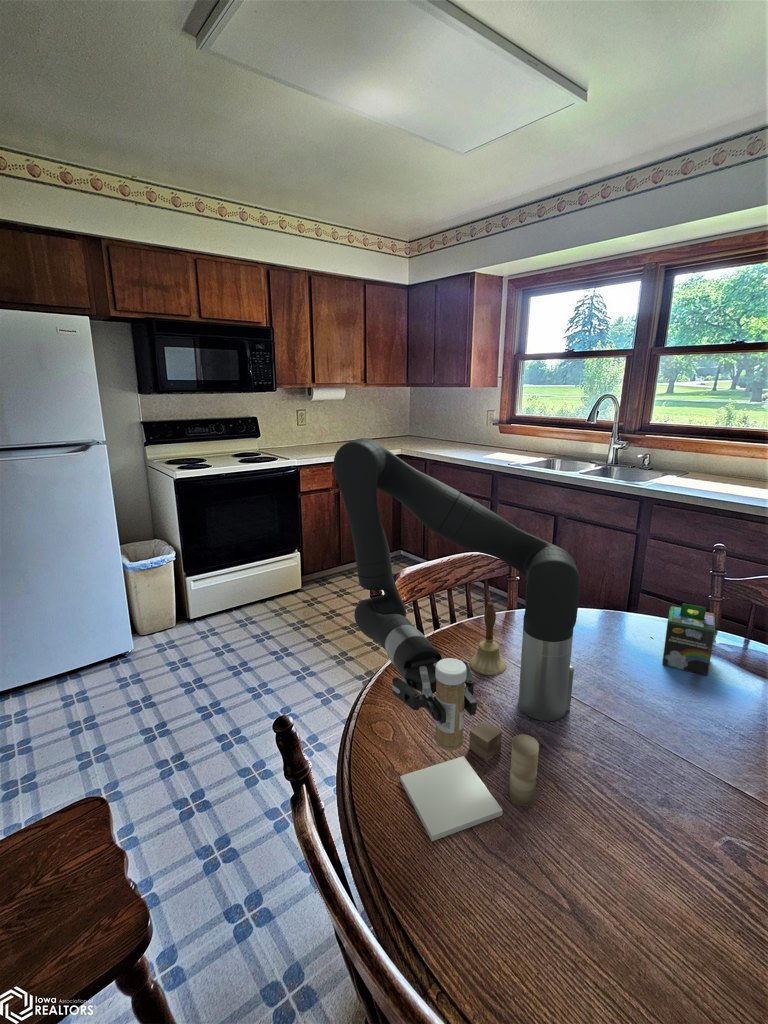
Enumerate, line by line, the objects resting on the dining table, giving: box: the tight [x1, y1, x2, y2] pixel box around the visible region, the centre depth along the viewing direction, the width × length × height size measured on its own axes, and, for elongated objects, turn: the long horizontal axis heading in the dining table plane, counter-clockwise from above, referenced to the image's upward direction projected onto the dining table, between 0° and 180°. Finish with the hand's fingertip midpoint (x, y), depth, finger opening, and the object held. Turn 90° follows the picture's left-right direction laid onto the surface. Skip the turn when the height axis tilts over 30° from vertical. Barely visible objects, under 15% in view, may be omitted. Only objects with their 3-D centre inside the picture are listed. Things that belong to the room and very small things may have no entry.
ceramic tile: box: [399, 755, 504, 842], centre depth 79 cm, size 12×12×1 cm
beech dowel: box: [508, 734, 540, 807], centre depth 78 cm, size 4×4×10 cm
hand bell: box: [469, 601, 507, 676], centre depth 113 cm, size 8×8×16 cm
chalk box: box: [662, 603, 716, 677], centre depth 113 cm, size 9×9×15 cm
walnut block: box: [468, 720, 503, 762], centre depth 89 cm, size 4×4×4 cm
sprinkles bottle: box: [434, 657, 466, 752], centre depth 75 cm, size 5×5×14 cm
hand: (458, 713), depth 73 cm, fingers closed on sprinkles bottle, 4 cm apart
